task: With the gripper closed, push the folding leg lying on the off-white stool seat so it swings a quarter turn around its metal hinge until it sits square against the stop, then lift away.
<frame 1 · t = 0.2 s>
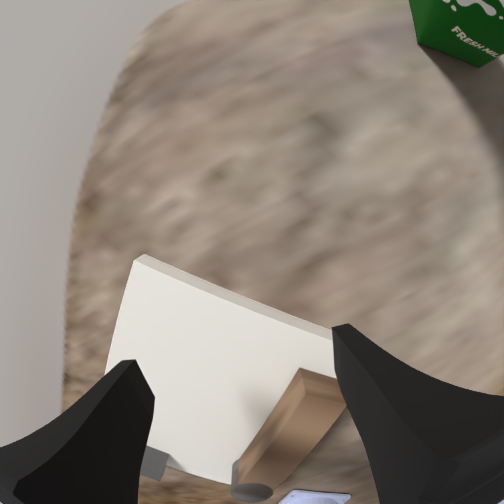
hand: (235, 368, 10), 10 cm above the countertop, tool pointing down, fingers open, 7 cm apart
folding leg: (278, 448, 19), point 4 cm above the countertop, hinge at 0.0°
stool seat: (207, 394, 22), on the countertop
milk carton: (442, 25, 16), on the countertop
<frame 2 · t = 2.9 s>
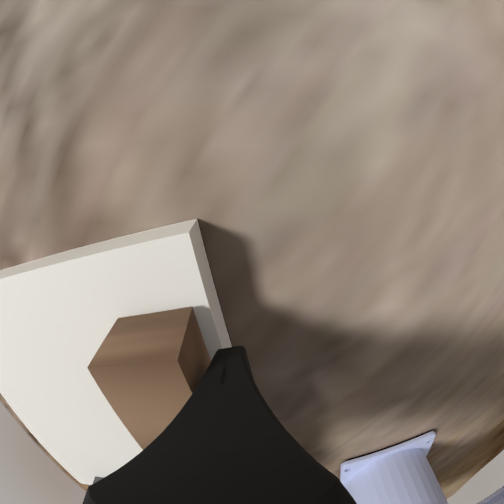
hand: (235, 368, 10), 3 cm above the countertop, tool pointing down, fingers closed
folding leg: (202, 451, 11), point 4 cm above the countertop, hinge at 0.1°, touching gripper
stool seat: (111, 399, 15), on the countertop
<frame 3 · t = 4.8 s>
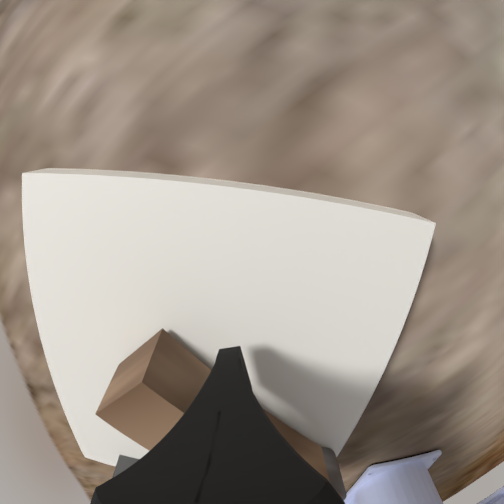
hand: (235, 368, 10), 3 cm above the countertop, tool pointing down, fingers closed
folding leg: (250, 453, 11), point 4 cm above the countertop, hinge at 48.9°, touching gripper
stool seat: (206, 368, 14), on the countertop
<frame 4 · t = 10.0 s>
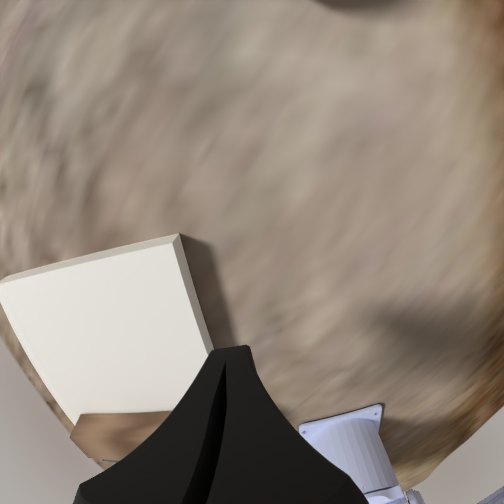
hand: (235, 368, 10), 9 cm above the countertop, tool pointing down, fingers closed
folding leg: (146, 437, 19), point 4 cm above the countertop, hinge at 92.6°, touching stool seat
stool seat: (119, 362, 21), on the countertop
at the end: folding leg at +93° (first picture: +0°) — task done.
